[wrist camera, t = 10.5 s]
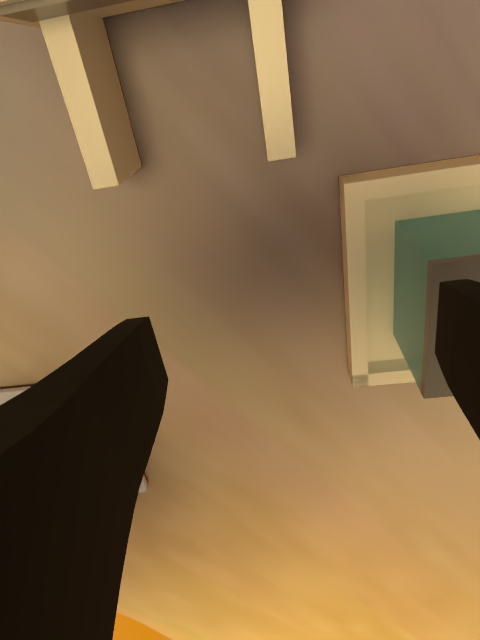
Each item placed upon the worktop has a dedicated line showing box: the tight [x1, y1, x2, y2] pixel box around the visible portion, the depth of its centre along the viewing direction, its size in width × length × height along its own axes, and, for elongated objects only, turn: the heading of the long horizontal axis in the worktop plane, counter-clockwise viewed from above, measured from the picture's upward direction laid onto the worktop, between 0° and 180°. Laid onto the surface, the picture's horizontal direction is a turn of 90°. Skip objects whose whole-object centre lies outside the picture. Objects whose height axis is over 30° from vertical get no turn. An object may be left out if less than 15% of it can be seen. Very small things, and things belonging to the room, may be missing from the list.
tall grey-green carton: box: [393, 209, 480, 399], centre depth 18 cm, size 6×4×5 cm, turn 9°
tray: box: [339, 155, 480, 387], centre depth 20 cm, size 11×9×2 cm
